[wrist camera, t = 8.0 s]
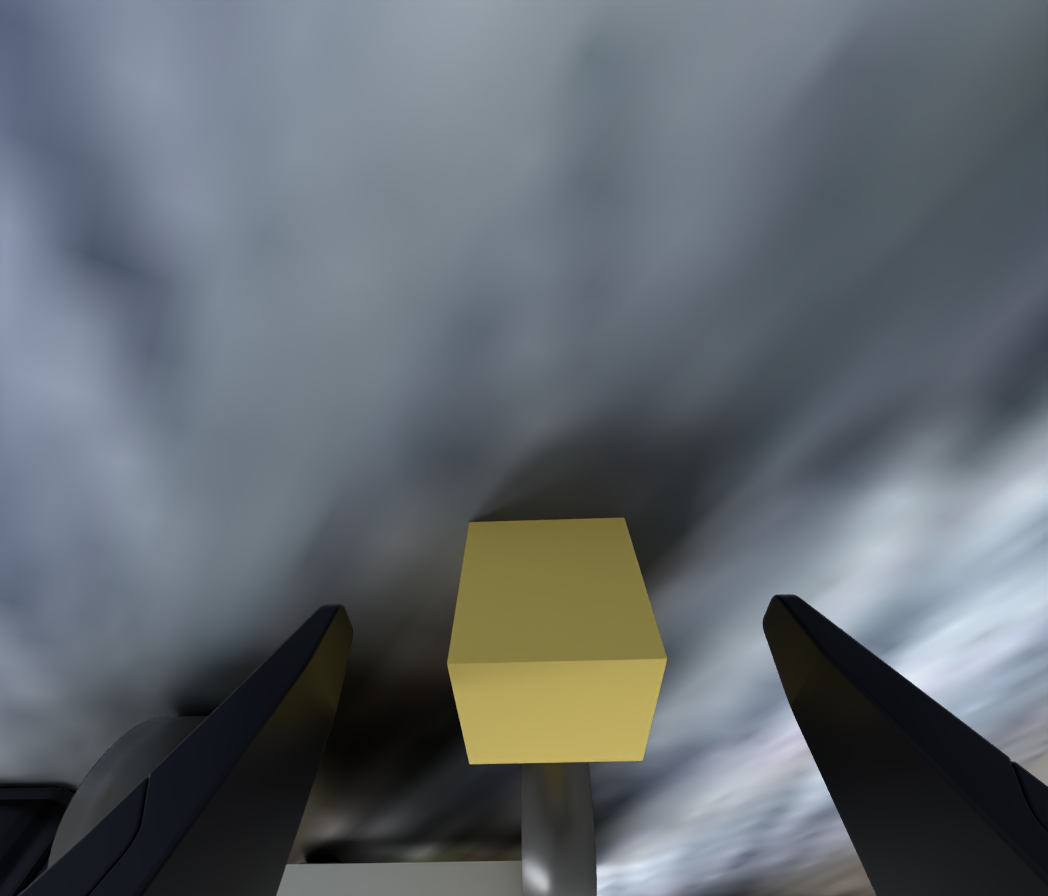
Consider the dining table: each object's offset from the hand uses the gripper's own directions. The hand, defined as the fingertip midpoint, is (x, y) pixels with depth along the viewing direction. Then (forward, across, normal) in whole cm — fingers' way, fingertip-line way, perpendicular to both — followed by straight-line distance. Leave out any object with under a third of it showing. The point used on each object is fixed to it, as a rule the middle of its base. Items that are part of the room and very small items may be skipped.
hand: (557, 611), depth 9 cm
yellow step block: (+3, 0, +3) cm, 4 cm away
